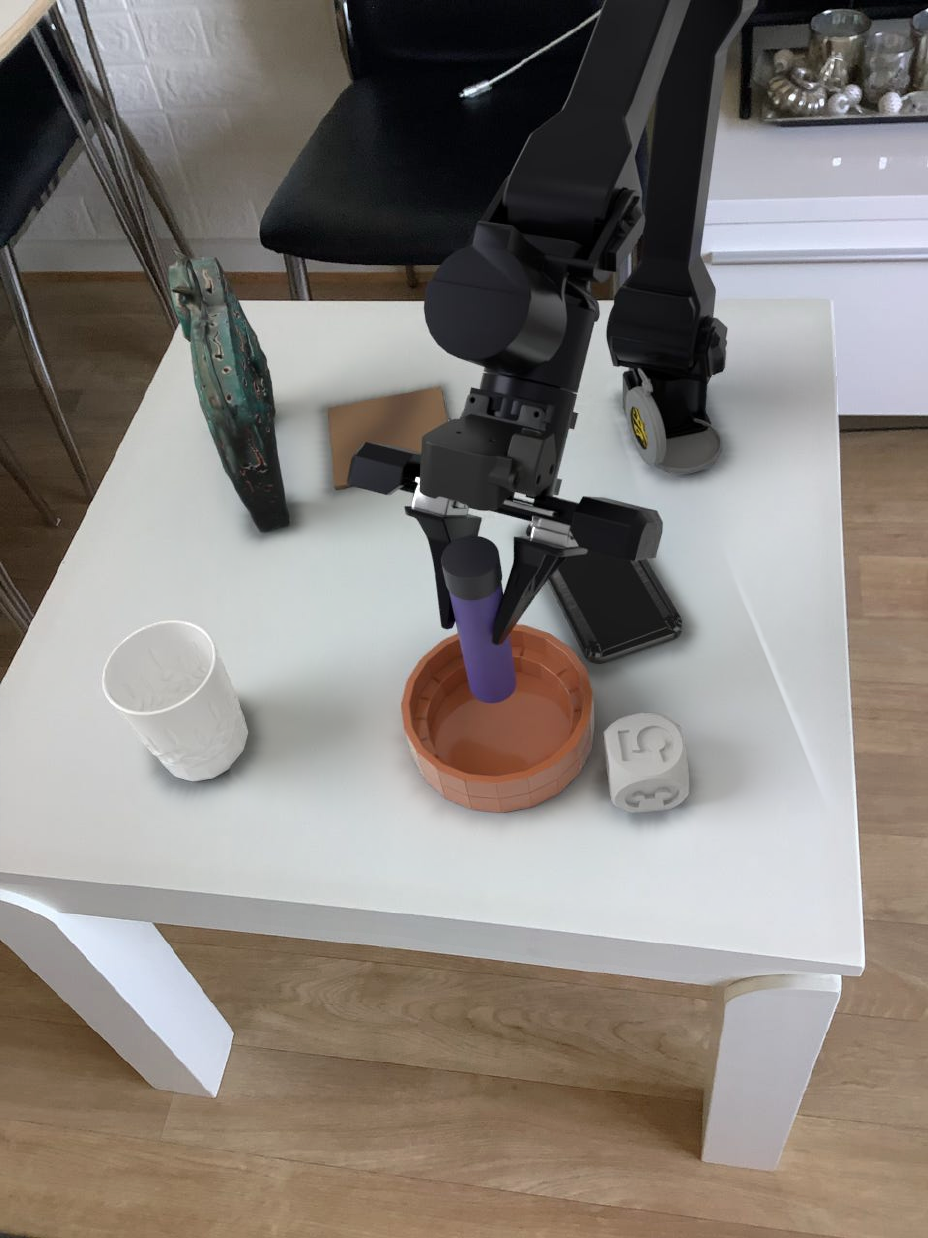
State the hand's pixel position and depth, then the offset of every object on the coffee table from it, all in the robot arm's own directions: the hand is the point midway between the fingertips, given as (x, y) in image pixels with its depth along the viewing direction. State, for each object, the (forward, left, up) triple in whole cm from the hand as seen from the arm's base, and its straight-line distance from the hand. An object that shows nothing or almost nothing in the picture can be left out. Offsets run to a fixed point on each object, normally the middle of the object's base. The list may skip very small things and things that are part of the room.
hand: (471, 636), depth 65 cm
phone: (-11, -13, -13) cm, 22 cm away
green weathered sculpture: (+16, -35, -14) cm, 41 cm away
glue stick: (-1, -1, -7) cm, 7 cm away
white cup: (+21, -5, -14) cm, 26 cm away
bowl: (-1, -1, -13) cm, 14 cm away
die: (-10, +5, -14) cm, 17 cm away
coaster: (+4, -35, -13) cm, 38 cm away
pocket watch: (-20, -26, -14) cm, 36 cm away
